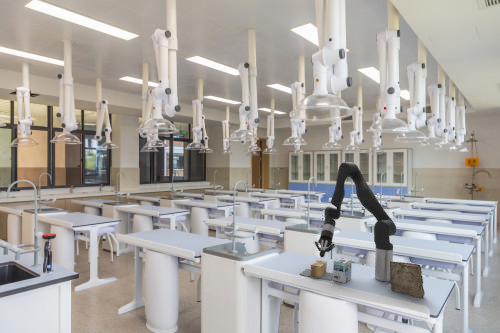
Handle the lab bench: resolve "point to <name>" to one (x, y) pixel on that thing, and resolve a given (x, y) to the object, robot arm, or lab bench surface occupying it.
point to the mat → (325, 276)
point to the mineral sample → (406, 279)
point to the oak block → (318, 268)
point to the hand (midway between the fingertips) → (321, 256)
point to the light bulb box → (342, 270)
